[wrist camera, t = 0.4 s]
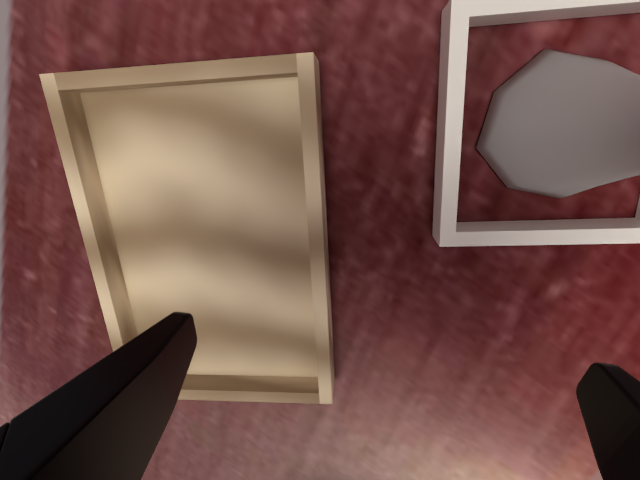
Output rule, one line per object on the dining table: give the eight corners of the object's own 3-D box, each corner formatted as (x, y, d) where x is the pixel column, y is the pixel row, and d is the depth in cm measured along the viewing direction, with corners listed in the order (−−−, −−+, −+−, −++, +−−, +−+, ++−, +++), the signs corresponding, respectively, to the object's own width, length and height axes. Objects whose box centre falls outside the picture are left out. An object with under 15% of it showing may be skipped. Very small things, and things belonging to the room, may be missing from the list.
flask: (450, 154, 20) (535, 182, 10) (539, 21, 17) (753, -100, 8) (559, 219, 20) (735, 302, 11) (659, 98, 18) (996, 69, 8)
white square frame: (647, 231, 20) (677, 242, 18) (432, 235, 21) (439, 246, 19) (704, -13, 16) (749, -31, 14) (441, 11, 18) (451, -3, 16)
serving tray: (334, 377, 25) (332, 404, 23) (146, 373, 27) (125, 397, 24) (319, 61, 19) (313, 52, 17) (76, 80, 20) (39, 74, 18)
